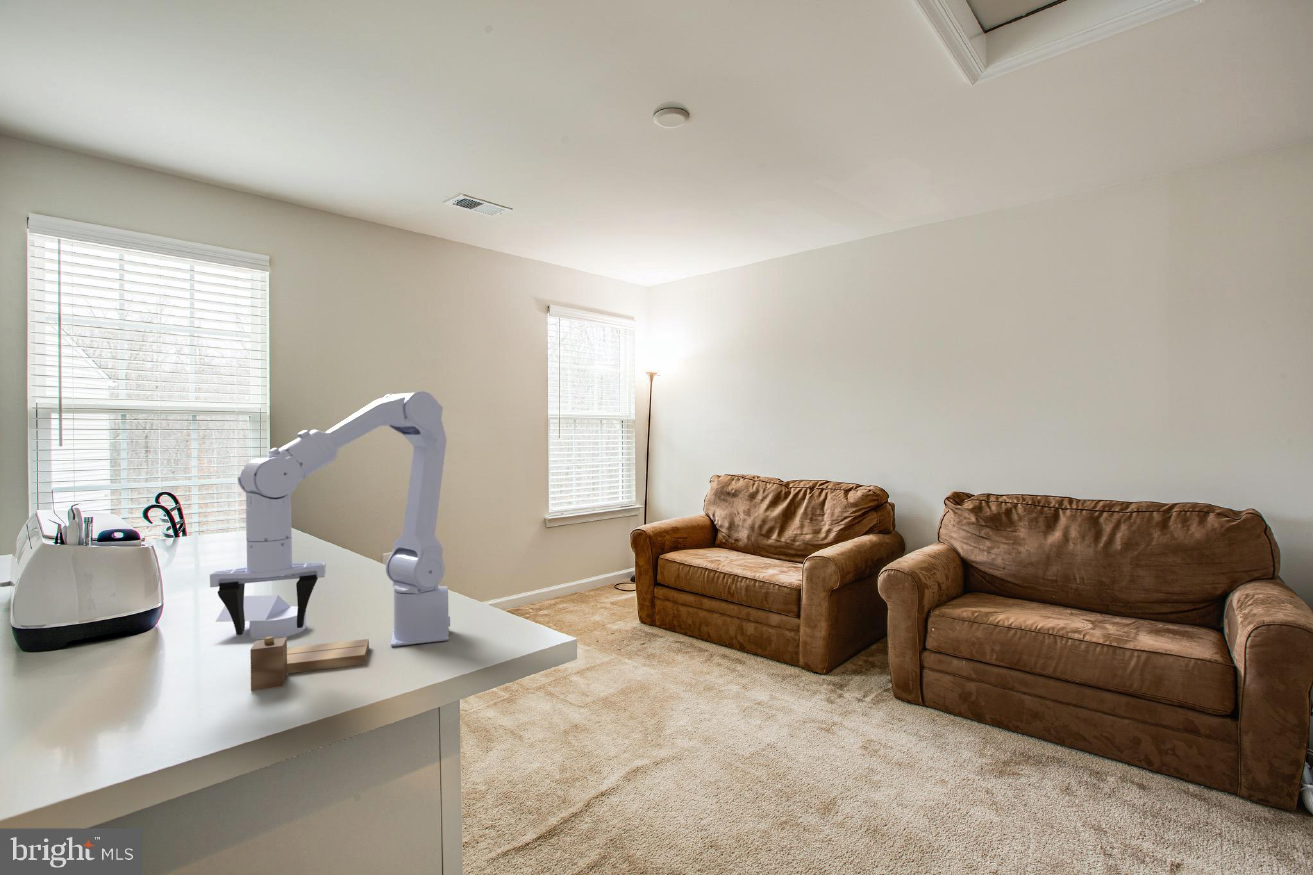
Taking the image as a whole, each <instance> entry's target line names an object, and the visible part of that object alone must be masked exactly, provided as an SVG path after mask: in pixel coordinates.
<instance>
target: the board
mask: <svg viewBox="0 0 1313 875" xmlns="http://www.w3.org/2000/svg"><path fill="white" fill-rule="evenodd" d="M369 649H370V640H369V638H364V639H356V640H345V641H337V642H328V643H327V642H326V643H319V644H309V645H308V644H307V645H300V646H299V645H298V646H291V647H287V674H293V673H302V672H308V671H309V672H310V671H311V672H312V671H319V670H326V669H334V668H336V669H337V668H342V667H349V666H350V667H351V666H352V667H353V666H358V665H365V664H366V660H367V656H368V653H369Z"/></svg>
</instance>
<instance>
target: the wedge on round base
mask: <svg viewBox="0 0 1313 875" xmlns="http://www.w3.org/2000/svg"><path fill="white" fill-rule="evenodd" d="M297 610H298V605H297V606H293V605H290V604H288V602H287V601H286V600H284V599H283V598H282V597H281V596H280V595H278V594H272V595H271V594H269V595H268V594H267V595H244V618H245V622H249V637H250V638H252V639H258V640H264V638H266V637H271V636H272V637H274V639H276V638H285V637H290V636H293V635H296V634H299V633H301V632H304V631H305V630H306V629H307V611H306V612H305V617H304V625H303V627H302V628H297ZM218 622H219V623H223V622H226V623H228V622H231V623H232V622H233V620H232V618H231V615H230V613H229V611H228V609H227V608H226V606H225V605H224V606H223V608H222V609H221V611H220V613H219V615H218V616H217V618H216V620H215V623H218Z"/></svg>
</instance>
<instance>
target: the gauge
mask: <svg viewBox="0 0 1313 875" xmlns="http://www.w3.org/2000/svg"><path fill="white" fill-rule="evenodd" d="M287 648H288V636H286V637H280V638H274V637H272V636H271V637H266V638H264V639H258V640H255V642H254V643H253V645H252V646H251V648H250V691H251V692H253V691H261V690H266V689H267V690H268V689H274V688H281V687H284V685H285V683H286V680H287V677H288V673H287Z"/></svg>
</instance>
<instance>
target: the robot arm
mask: <svg viewBox="0 0 1313 875" xmlns="http://www.w3.org/2000/svg"><path fill="white" fill-rule="evenodd" d="M442 416H443V406H442V405H441V403H439V401H438V400H437V399H436V398H435V396H433V394H431V393H429V392H427V391H424V390H423V391H422V390H419V391H415V392H403V393H400V392H399V393H398V392H392V393H388V394H386V395H385V396H384V397H379V398H378V399H375V400H373V401H372V402H370V403H369V404H367V405H366V406H364V407H363V408H360V409H359V410H358V411H356V412H354V413H353V414H351V415H350V416H348V417H347V418H344V420H342V421H340V422H339V423H337V424H336V425H334V426H333V427H331V428H330V429H328V430H326V431H322V430H319V429H318V430H317V429H311V430H310V431H309V430H307V429H306V430H305V429H304V430H302V431H299V432H298V433H297V434H296V436H297V438H296V439H293V440H292V441H290V442H288V443H287V444H285V445H283V446H281V447H279V448H278V447H273V448H271V449H269V450H268V453H269V454H268V457H259V458H254V459H252V460H250V461H249V462H247V463H246V464H245V465H244V468H241V473H240V476H238V477H237V483H238V485H239V487H240V489H241V490H242V491H243V492H244V493H245V507H246V508H245V529H246V530H245V532H246V534H245V537H246V567H241V568H232V569H226V570H224V569H223V570H214V571H212V572H211V573H210V574H209V587H210V588H218V591H217V595H218V597H219V599H220V600H221V601H222V603H223V604H224V606H226V608H227V609H228V611H229V613H230V615H231V618H232V620H233V621H232V623H233V626H234V629H235V635H236V636H241V635H243V633H244V632H245V631H246V621H245V618H244V596H245V588H246V587H245V584H251V583H252V584H253V583H262V582H263V583H265V582H274V581H285V580H297V582H296V585H295V587H296V600H297V603H296V604H297V606H298V610H297V628H302V627H303V625H304V617H305V612H306V613H307V607H308V604H309V600H310V598H311V595H312V592H313V590H314V588H315V585H316V583H317V581H318V579H319V578H325V577H326V573H327V572H326V562H324V561H323V562H305V563H304V562H301V563H299V562H297V563H293V541H292V540H293V539H292V538H293V537H292V534H293V533H292V503H291V502H292V500H291V499H292V497H291V496H292V493H293V492H295V490H296V489H297V487H298V486H299V483H300V482H301V481H303V480H304V479H307V478H308V477H309V476H311V475H312V474H314V473H316V472H318V471H320V470H321V469H323V468H324V467H326V466H327V465H329V464H330V463H332V462H333V461H336V459H337V456H338V452H339V449H340V448H343V447H345V445H348V444H350V443H351V442H353V441H356V440H357V439H359V438H361V437H362V436H364V435H366V434H369V433H370V432H372V431H373V430H376V429H378V428H379V427H382V426H388V427H389V428H391V429H393V430H394V431H395V432H397V433H399V434H401V435H403V437H404V438H405V439H406V440H407V441H408V442H409V443H410V444H411V446H412V447H413V450H412V459H411V466H410V473H409V474H410V475H409V482H408V490H407V497H406V498H407V499H406V505H405V511H404V520H403V528H402V533H401V535H400V536H399V537H398V538H397V539H396V540H394V542H393V546H392V551H391V553H390V555H389V557H388V558H387V561H386V563H385V573H386V576H387V577H388V579H389V580H390V581H392V588H393V630H392V633H391V641H390V647H398V646H399V647H400V646H408V645H416V644H425V643H435V642H442V641H444V642H445V641H449V639H450V637H449V636H450V634H449V628H450V627H451V616H449V587H448V586H447V585H441V586H440V585H439V584H440V583H441V582H442V580H443V578H444V576H445V571H446V566H445V565H446V564H445V562H444V559H443V550H444V548H443V545H442V544H441V543H440V541H439V539H438V538H437V536H436V528H437V519H438V512H439V504H440V496H441V487H442V480H443V474H444V473H443V470H444V464H445V456H446V449H447V448H446V447H447V437H446V436H447V435H446V430H445V427H444V425H443V421H442Z"/></svg>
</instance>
